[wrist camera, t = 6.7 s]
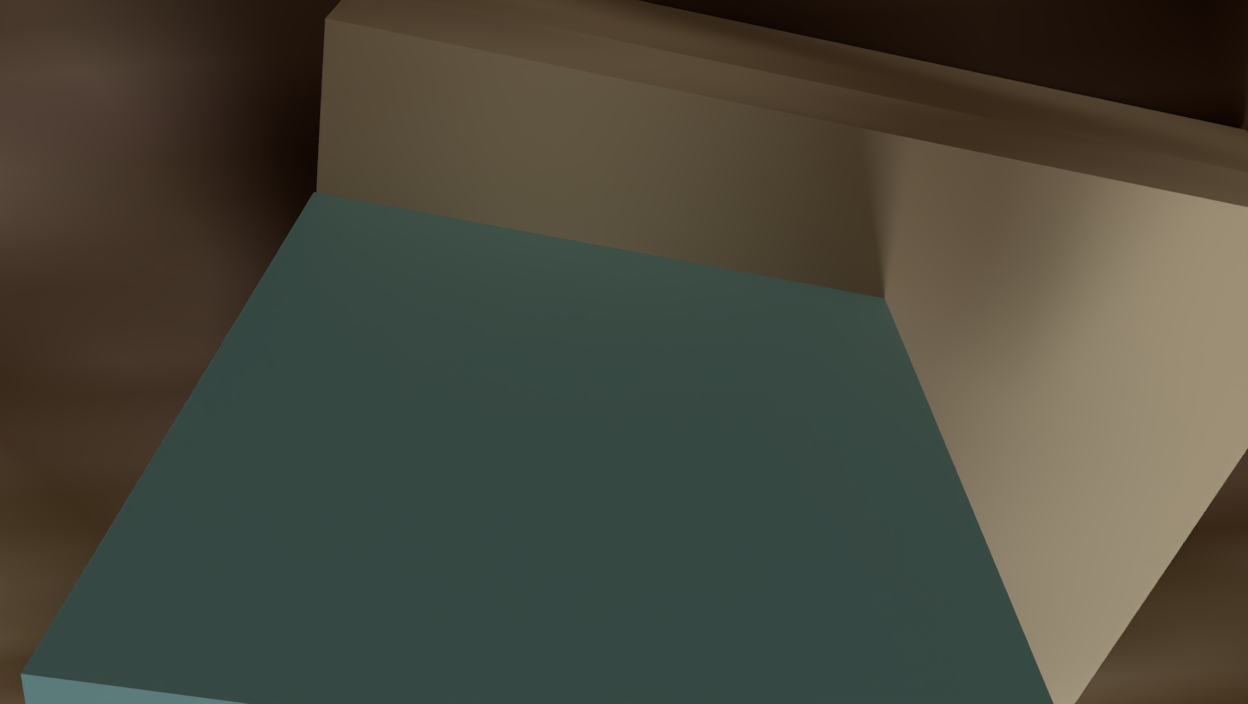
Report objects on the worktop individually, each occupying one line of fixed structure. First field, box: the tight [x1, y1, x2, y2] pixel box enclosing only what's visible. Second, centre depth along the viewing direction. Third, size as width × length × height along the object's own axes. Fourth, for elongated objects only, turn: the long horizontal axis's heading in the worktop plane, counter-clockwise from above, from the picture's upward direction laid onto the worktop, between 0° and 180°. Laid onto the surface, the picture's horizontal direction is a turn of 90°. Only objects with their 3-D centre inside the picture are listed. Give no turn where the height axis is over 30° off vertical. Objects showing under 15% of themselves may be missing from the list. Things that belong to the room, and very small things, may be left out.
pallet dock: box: [316, 0, 1248, 704], centre depth 14 cm, size 9×16×2 cm, turn 168°
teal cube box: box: [21, 192, 1053, 704], centre depth 8 cm, size 5×5×5 cm
